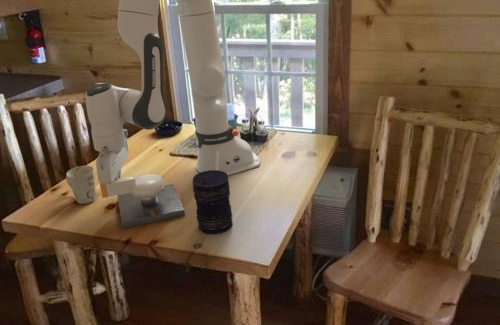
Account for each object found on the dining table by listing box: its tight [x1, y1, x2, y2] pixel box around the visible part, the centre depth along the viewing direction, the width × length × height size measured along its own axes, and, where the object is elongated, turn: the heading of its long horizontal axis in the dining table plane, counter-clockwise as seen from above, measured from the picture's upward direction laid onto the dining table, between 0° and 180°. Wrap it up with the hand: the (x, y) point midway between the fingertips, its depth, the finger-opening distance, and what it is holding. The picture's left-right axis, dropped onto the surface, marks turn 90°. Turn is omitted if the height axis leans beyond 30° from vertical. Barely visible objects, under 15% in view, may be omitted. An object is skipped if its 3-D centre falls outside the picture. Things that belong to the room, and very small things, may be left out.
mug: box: [65, 165, 97, 205], centre depth 159 cm, size 8×13×10 cm, turn 58°
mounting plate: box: [116, 183, 186, 229], centre depth 151 cm, size 18×18×6 cm
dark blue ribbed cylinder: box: [192, 170, 233, 236], centre depth 138 cm, size 10×10×15 cm
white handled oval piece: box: [99, 173, 165, 199], centre depth 148 cm, size 18×10×5 cm, turn 108°
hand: (117, 183), depth 149 cm, fingers closed
